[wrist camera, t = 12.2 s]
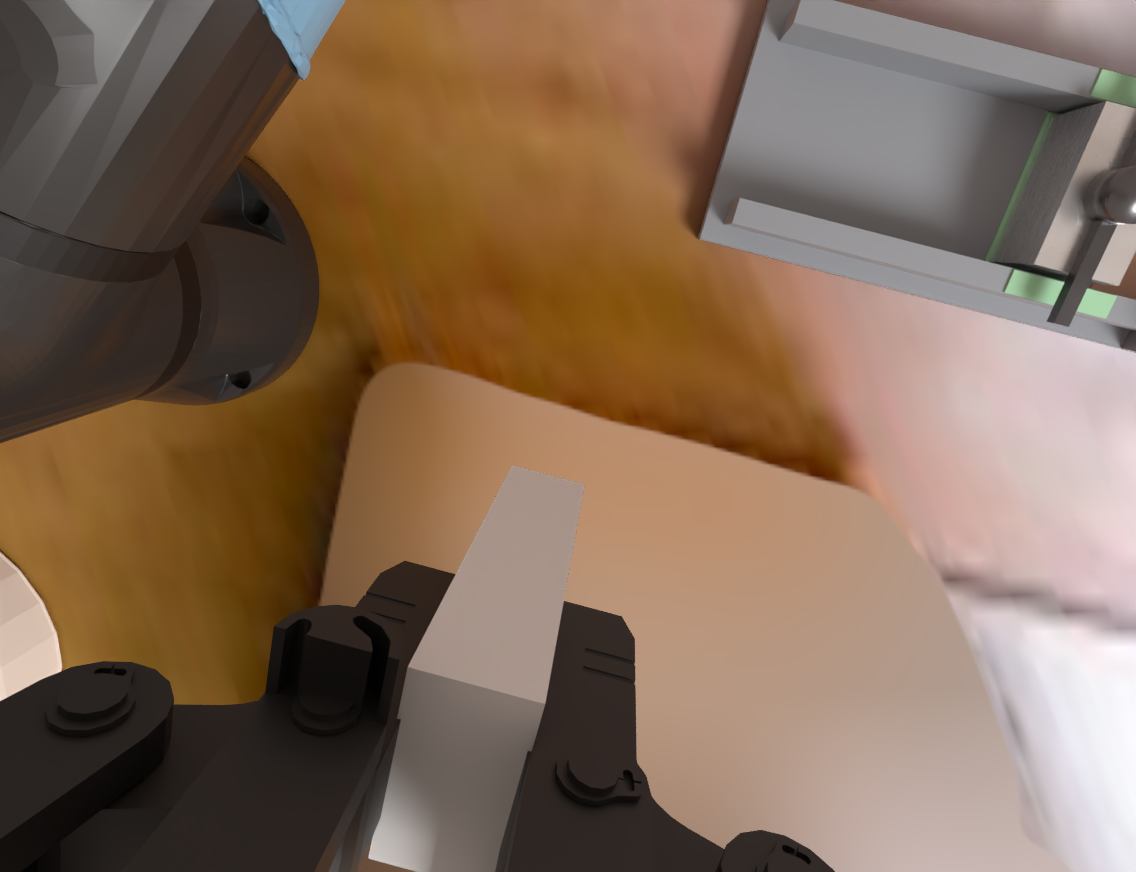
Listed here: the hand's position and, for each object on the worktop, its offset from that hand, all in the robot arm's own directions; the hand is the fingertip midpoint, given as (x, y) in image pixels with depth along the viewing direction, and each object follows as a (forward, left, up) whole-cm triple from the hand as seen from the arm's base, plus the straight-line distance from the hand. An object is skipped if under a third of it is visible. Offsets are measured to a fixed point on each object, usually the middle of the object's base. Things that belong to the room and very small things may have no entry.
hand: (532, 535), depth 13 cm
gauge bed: (+17, +13, -26) cm, 34 cm away
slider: (+21, +13, -25) cm, 35 cm away
